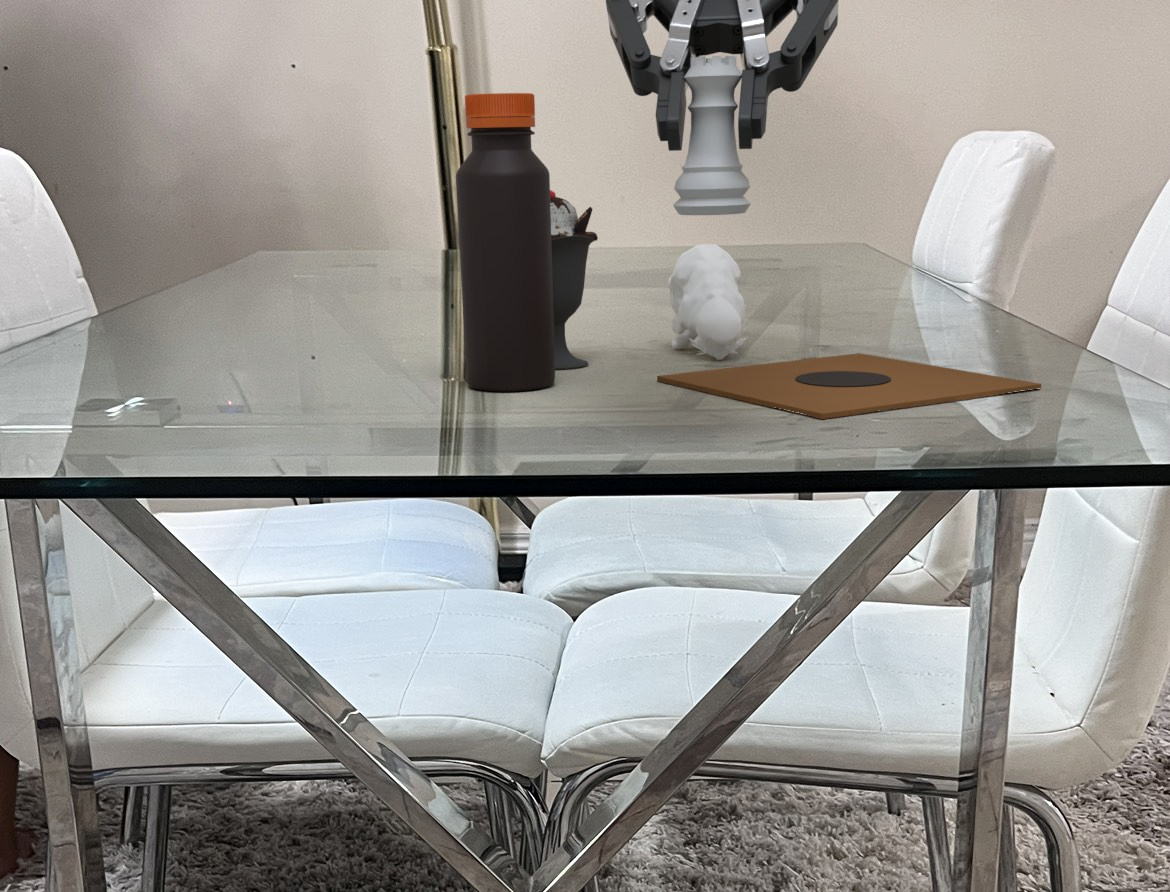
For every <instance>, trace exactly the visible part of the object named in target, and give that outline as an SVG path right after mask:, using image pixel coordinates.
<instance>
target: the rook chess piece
mask: <svg viewBox="0 0 1170 892" xmlns="http://www.w3.org/2000/svg"><path fill="white" fill-rule="evenodd" d="M684 79H685V81H686V83H687V84H688V88H689V89H690V91H691V100H690V101H691V102H690V103H689V105H688V106H687V109H688V112H690V134H689V140H688V141H689V142H688V149H687V155H686V159H685V163H684V164H683V166H681V169H682V173H681V175H680V176H679V177H678V178H677V179H676V180H675V184H674V187H673V188H674V190H675V192H676V193H677V195H678V196H679V199H677V200H676V202H674V203H673V204H672V207H673V208H674V209H675V211H676V212H677V214H678V215H680V216H724V215H725V216H727V215H741V214H745V213H747V210H748V209H749V207H750V206H751V204H752V203H751V202H750V200H748V199H747V198H746V197H745V195H746V193H747V192H748V190H749V189H750V188H751V184H750V180H749V178H748V177H747V176H746V175H745V173H744V172H743V170H742V169H743V166H744V165H743V164H742V163H741V162H740V158H739V154H738V149H737V148H738V147H737V139H736V132H735V131H736V128H735V113H736V111H737V109H738V108H739V104H738V103H737V102H736V101H735V90H736V88H737V86H738V85H739V84H740V81H741V79H742V71H740V69H739V68H738V66H737V56H736V55H725V56H723V57H722V55H712V56H711V57H707V58H706V56H705V55H704V56H702V57H694V58H690V69H689V70H688V72H687V73H686V75H685V76H684Z"/></svg>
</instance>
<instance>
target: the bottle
mask: <svg viewBox="0 0 1170 892" xmlns="http://www.w3.org/2000/svg"><path fill="white" fill-rule="evenodd" d="M535 102H536V101H535V94H534V93H532V92H531V93H530V92H498V93H497V92H496V93H472V94H471V93H470V94H466V95H464V105H465V106H464V108H465V126H466V129H470V132H467V137H471V138H470V139H471V151H470V153H469V154H468V155H467V157H466V159H465V160H464V161H463V162H462V164H461V165H460V166H459V168H458V169H457V171H456V174H455V188H456V189H455V190H456V204H457V205H456V207H457V209H456V210H457V224H458V226H457V227H458V244H459V247H458V248H459V263H460V264H459V265H460V281H461V282H460V283H461V284H460V285H461V301H462V316H463V317H462V319H463V341H464V358H465V359H464V361H465V375H466V377H465V378H466V384H467V385H468V386H469V387H470V388H472V389H474V390H478V391H485V392H501V393H502V392H503V393H504V392H505V393H506V392H507V393H509V392H526V391H535V390H540V389H544V388H548V387H550V386H552V385H553V384H554V383H555V379H556V370H555V358H554V321H553V284H552V248H551V211H550V190H551V181H550V179H551V178H550V177H551V176H550V172H549V168H548V167H547V166H546V164H545V163H543V161H542V160H541V159H540V158H539V157H538V155H536V154H535V152H534V151H533V150H532V136H533V135H535V134H536V133H535V131H534V130H532V128H536V107H535V105H536V103H535Z"/></svg>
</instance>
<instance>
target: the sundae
mask: <svg viewBox="0 0 1170 892" xmlns="http://www.w3.org/2000/svg"><path fill="white" fill-rule="evenodd" d="M550 211H551V248H552V284H553V321H554V358H555V371H556V370H573V369H579V368H585V367H587V366H588V365H589V362H588V361H587V360H586V359H585V360H584V359H582V358H579V357H576V356H574V355H573V353H571V351H570V350H569V348H568V345H567V340H566V339H567V338H566V323H567V321H569V319H570V318H571V317H572V316H573V315H575V313H576V312H577V311H578V309H579V308H580V306H581V305H582V301H583V295H584V289H585V281H586V270H587V260H588V256H589V255H588V254H589V248H590V245H591V244H592V243H593V242H597V241H598V237H599V236H598V235H597V233H596V232H595V231H586V230H587V228H588V225H589V222H590V219H591V216H592V213H593V208H592V206H589V207H588V208H587V209H586V210H585V211H584V212H583V213H582V214H581V215H580V216H579V217H578V213H577V208H576V207H575V206H574V205H573V204H571V202H570V201H568V200H567V199H564V198H562V197H557V196H556V192H555V191H553V190H551V189H550Z"/></svg>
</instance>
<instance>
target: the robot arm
mask: <svg viewBox="0 0 1170 892" xmlns="http://www.w3.org/2000/svg"><path fill="white" fill-rule="evenodd" d="M839 3H840V1H839V0H605V5H606V6H605V7H606V12H607V21H608V27H609V33H610V37H611V39H612V42H613V44H614V46H615V49H616V51H617V53H618V56H619V58H620V61H621V63H622V66H623V68H624V70H625V73H626V75H627V78H628V80H629V82H630V85H631V88H632V90H633V92H634V94H635V95H637V96H639V97H647V96H649V95H651V94H652V93H654V94H656V95H657V96H656V97H657V100H656V107H655V122H656V123H655V124H656V131H657V136H658V138H659V141H660V142H667V146H668V147H667V149H668V151H669V152H674V151H676V152H677V151H678V152H679V151H682V150H683V141H684V134H685V133H684V132H685V122H686V113H687V94H686V93H687V90H688V88H689V86H688V84H687V83H686V81H685V79H684V76H685V75H686V73H687V72H688V70H689V69H690V58H694V57H703V56H704V57H705V56H709V55H714V54H717V53H723V54H730V55H739V56H740V61H741V67H742V70H741V74H742V78H741V80H740V81H741V82H740V93H739V104H738V115H737V116H738V117H737V120H738V121H737V124H738V125H737V127H738V128H737V132H738V133H737V134H738V149H739V150H752V149H753V140H762V138H763V137H764V135H765V133H766V129H767V128H766V127H767V117H768V116H767V115H768V103H769V102H768V101H769V97H770V95H771V94H772V93H773V92H774V91H776V90H778V89H782V90H784V91H785V92H789V93H793V92H796V91H798V90H800V89H801V88H802V86H803V84H804V82H805V81H806V80H807V78H808V76H809V74H810V73H811V72H812V69H813V68H814V65H815V64H816V62H817V61H818V59H819V57H820V56H821V53H822V52H823V50H824V49H825V47H826V45H827V43H828V42H829V40H830V38H831V37H832V35H833V33H834V32H835V30H836V29H837V26H838V24H839V23H838V22H839V5H840V4H839ZM793 11H795V13H796V20H795V22H794V24H793V26H792V27H791V29H790V30H789V33H788V34H787V36H786V37H785V39H784V40H783V43H781V45H780V50H776V51H773V52H769V47H768V43H767V37H769V35H770V34H771V33H772V32H773V31H774V30H775V29H776V28H777V27H778V26H779V25H780V24H781V23H783V21H784V20H785V19H786V18H787V17H789V15H790V14H791V13H792V12H793ZM652 16H653V17H654V18H655V19H656V20H657V21H658V23H659V24H660V25H661V26H662V27H663V28H664V29H665V30H666V32H667V33H668V37H667V41H666V43H665V46H664V49H663V52H662V54H661V56H659V55H654V54H652V53H651V49H650V46H649V44H648V42H647V40H646V36H645V35H644V33H646V31H647V30H648V20H649V19H650V18H651V17H652Z"/></svg>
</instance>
